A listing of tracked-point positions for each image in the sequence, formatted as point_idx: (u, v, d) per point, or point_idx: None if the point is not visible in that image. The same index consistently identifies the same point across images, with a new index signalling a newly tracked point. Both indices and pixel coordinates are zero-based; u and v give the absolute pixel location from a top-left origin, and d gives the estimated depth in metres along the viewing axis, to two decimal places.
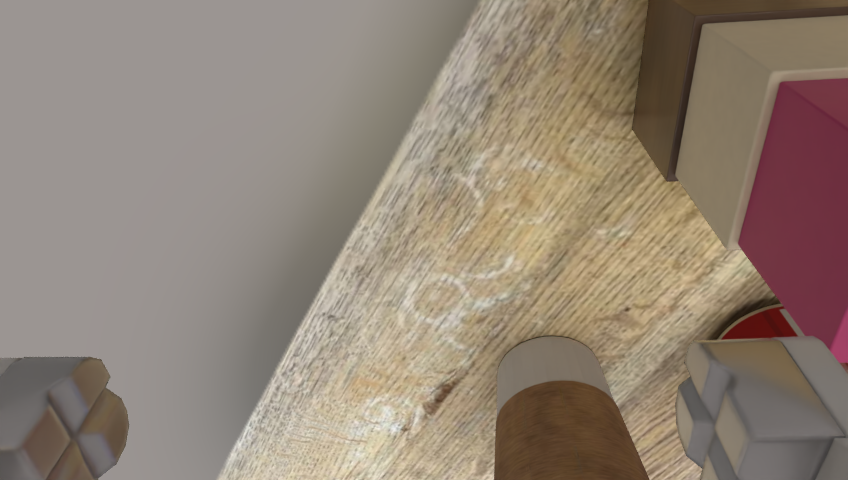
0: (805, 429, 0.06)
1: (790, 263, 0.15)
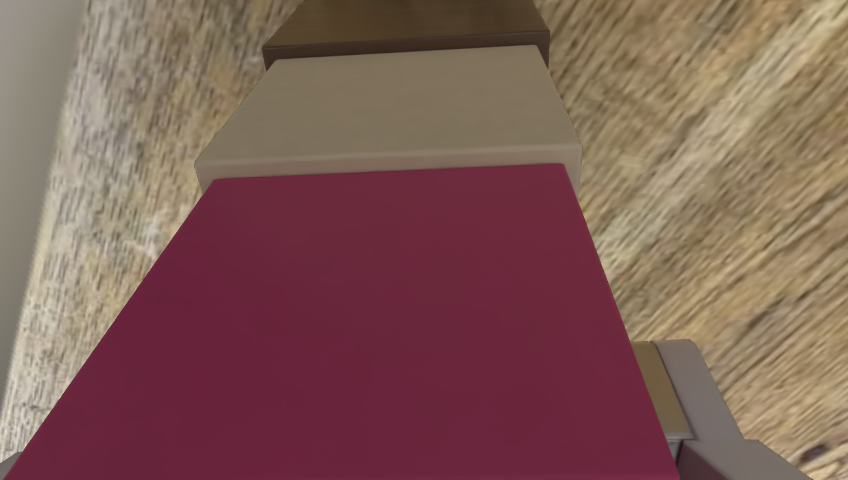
0: None
1: None
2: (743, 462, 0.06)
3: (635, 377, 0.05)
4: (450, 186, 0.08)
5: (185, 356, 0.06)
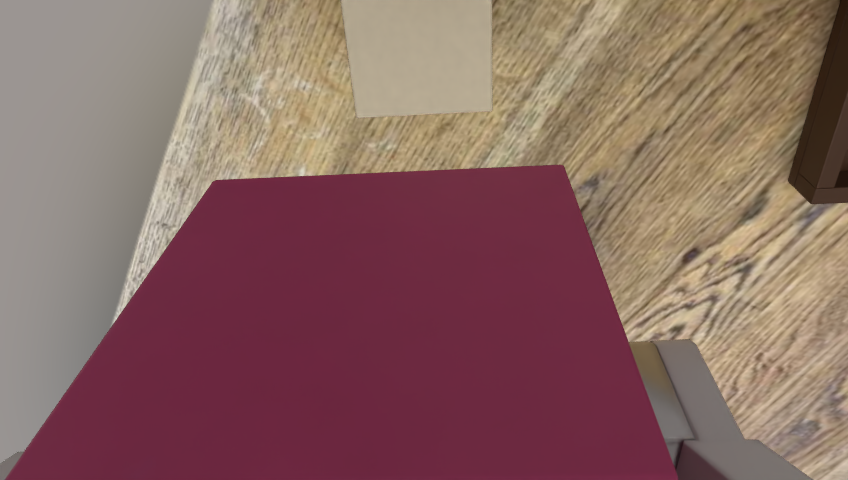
0: None
1: None
2: (743, 463, 0.06)
3: (634, 378, 0.05)
4: (449, 187, 0.08)
5: (186, 358, 0.06)
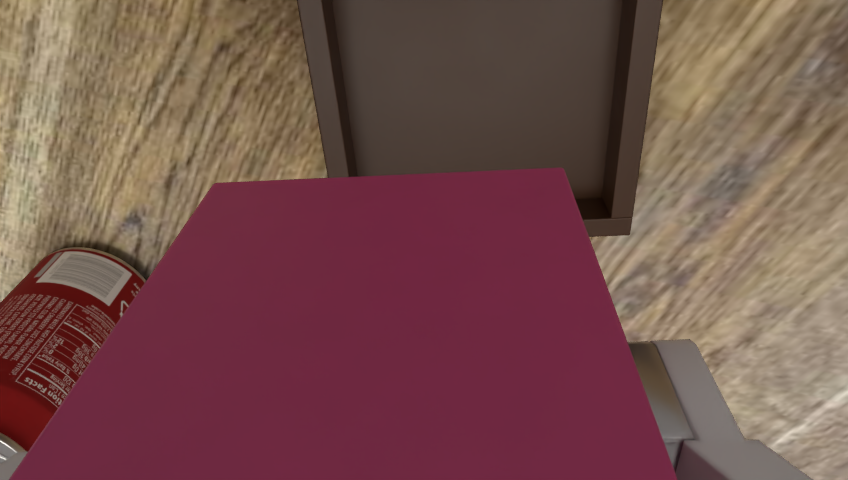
0: None
1: None
2: (743, 462, 0.06)
3: (634, 383, 0.05)
4: (450, 190, 0.08)
5: (187, 362, 0.06)
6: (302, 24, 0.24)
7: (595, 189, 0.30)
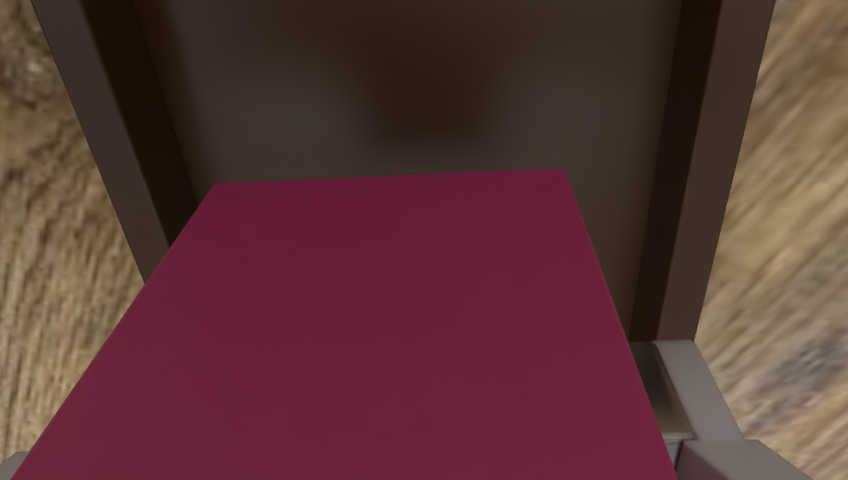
0: None
1: None
2: (743, 463, 0.06)
3: (636, 384, 0.05)
4: (450, 191, 0.08)
5: (188, 364, 0.06)
6: (99, 167, 0.13)
7: None
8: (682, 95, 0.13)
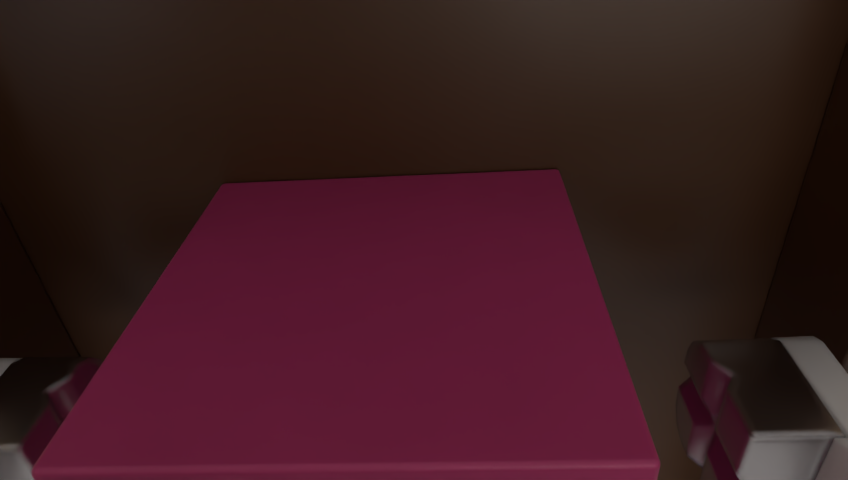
0: (805, 429, 0.06)
1: None
2: None
3: (621, 371, 0.05)
4: (449, 191, 0.08)
5: (200, 353, 0.06)
6: None
7: None
8: (821, 261, 0.08)
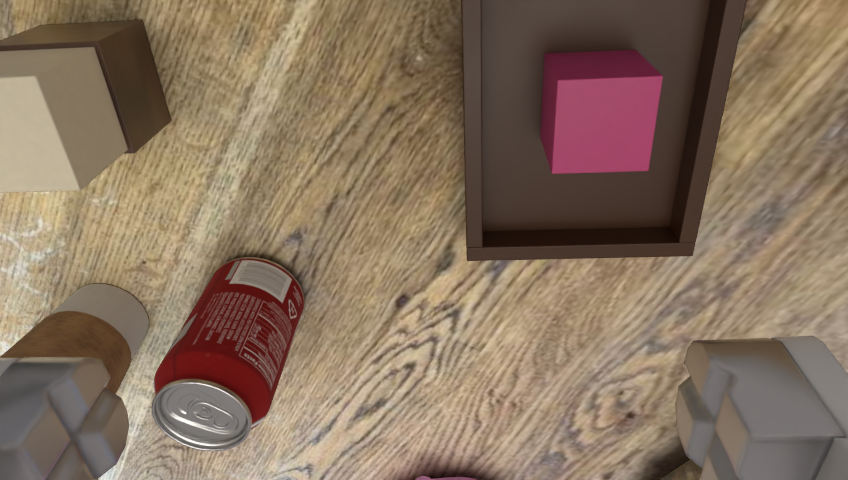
0: (805, 429, 0.06)
1: (546, 136, 0.33)
2: None
3: None
4: (609, 53, 0.33)
5: (573, 71, 0.30)
6: (464, 98, 0.33)
7: (664, 220, 0.38)
8: (704, 72, 0.32)
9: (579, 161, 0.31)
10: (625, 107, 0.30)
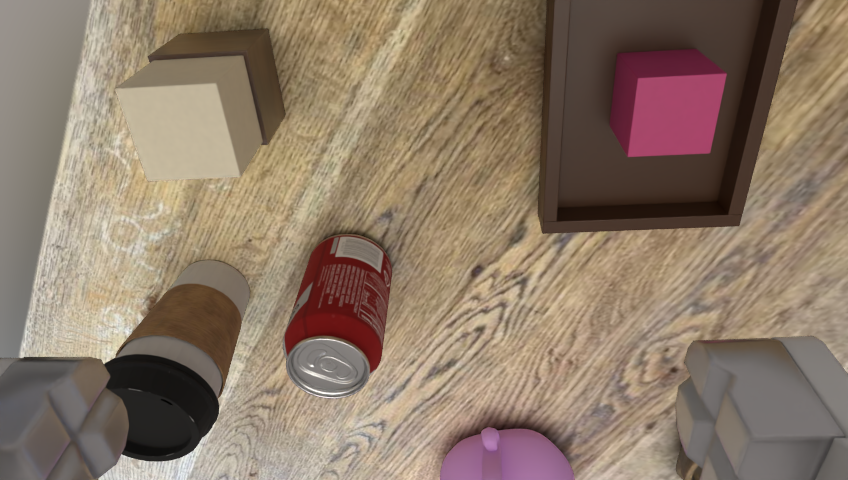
0: (805, 429, 0.06)
1: (620, 124, 0.38)
2: None
3: (719, 67, 0.35)
4: (674, 52, 0.38)
5: (648, 69, 0.36)
6: (550, 93, 0.38)
7: (713, 195, 0.44)
8: (755, 67, 0.38)
9: (652, 146, 0.37)
10: (693, 100, 0.35)
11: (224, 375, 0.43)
